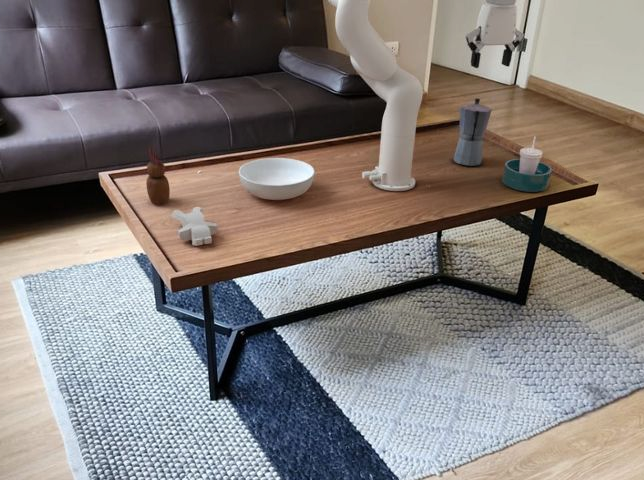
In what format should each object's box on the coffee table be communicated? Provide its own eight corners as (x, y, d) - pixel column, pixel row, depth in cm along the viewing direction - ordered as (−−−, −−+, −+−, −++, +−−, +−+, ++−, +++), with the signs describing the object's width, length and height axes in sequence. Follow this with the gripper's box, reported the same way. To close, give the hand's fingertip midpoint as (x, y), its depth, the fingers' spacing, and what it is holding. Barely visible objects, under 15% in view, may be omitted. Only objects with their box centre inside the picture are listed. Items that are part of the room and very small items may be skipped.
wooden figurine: (146, 198, 175) (140, 145, 167) (168, 195, 177) (162, 142, 169) (150, 208, 170) (143, 153, 162) (172, 205, 171) (167, 151, 163)
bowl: (517, 195, 184) (521, 177, 181) (493, 178, 195) (496, 160, 192) (556, 190, 188) (561, 173, 185) (531, 174, 198) (534, 157, 195)
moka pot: (480, 155, 211) (490, 93, 201) (485, 172, 198) (497, 108, 188) (451, 153, 212) (459, 92, 201) (454, 170, 199) (464, 106, 188)
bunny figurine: (183, 236, 148) (166, 204, 158) (184, 254, 151) (168, 222, 161) (222, 229, 151) (204, 198, 162) (223, 247, 155) (204, 216, 165)
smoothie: (538, 181, 192) (548, 136, 184) (532, 188, 187) (542, 142, 180) (517, 176, 195) (526, 131, 187) (510, 183, 190) (520, 137, 182)
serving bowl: (322, 184, 187) (323, 161, 183) (301, 213, 169) (301, 189, 166) (255, 175, 191) (254, 153, 187) (227, 203, 174) (226, 179, 170)
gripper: (521, -4, 175) (509, 61, 184) (464, -3, 170) (455, 64, 180) (537, 1, 169) (524, 68, 178) (479, 2, 164) (468, 70, 173)
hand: (490, 66), depth 179 cm, fingers open, 9 cm apart
